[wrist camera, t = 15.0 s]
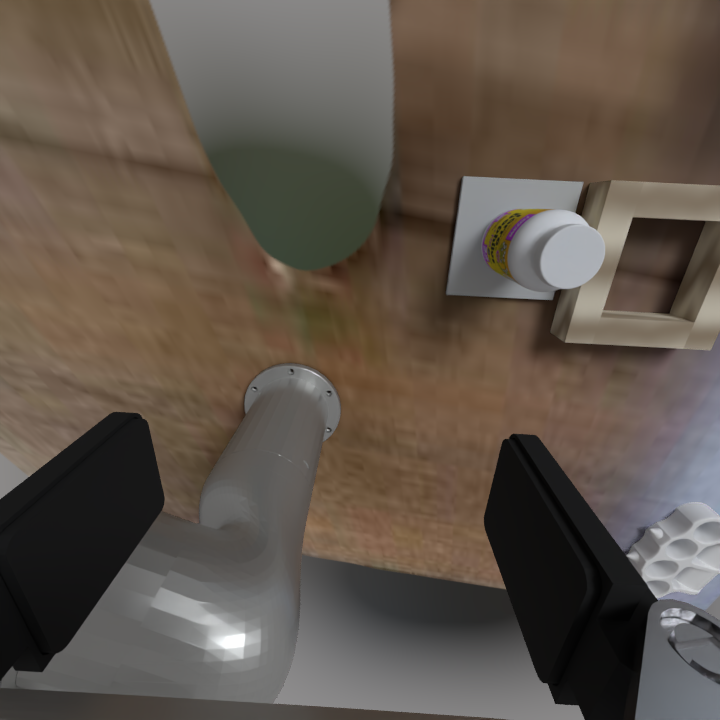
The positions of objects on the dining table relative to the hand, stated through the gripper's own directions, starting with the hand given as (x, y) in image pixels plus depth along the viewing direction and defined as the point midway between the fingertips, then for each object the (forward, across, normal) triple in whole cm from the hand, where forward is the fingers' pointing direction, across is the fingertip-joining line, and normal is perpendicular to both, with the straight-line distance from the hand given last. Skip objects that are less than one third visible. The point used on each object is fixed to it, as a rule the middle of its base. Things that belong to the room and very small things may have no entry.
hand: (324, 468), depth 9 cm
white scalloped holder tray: (+34, -51, +40) cm, 73 cm away
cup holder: (+33, -31, -2) cm, 46 cm away
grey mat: (+33, -16, -4) cm, 37 cm away
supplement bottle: (+33, -16, -4) cm, 37 cm away
